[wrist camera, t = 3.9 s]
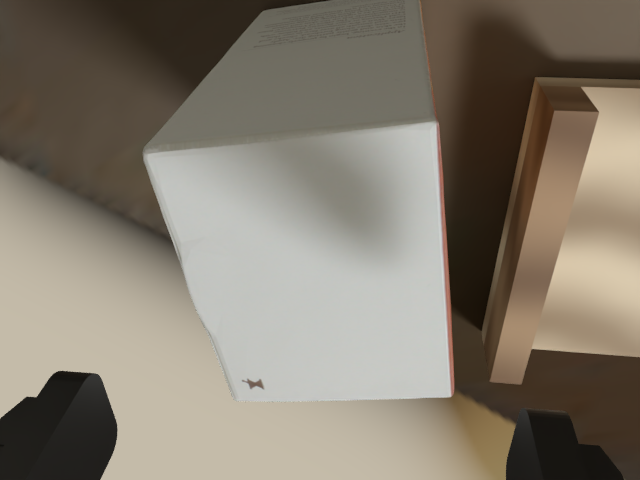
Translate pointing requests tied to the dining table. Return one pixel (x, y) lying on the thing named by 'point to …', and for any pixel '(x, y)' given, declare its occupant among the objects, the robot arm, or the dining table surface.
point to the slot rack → (570, 229)
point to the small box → (315, 206)
